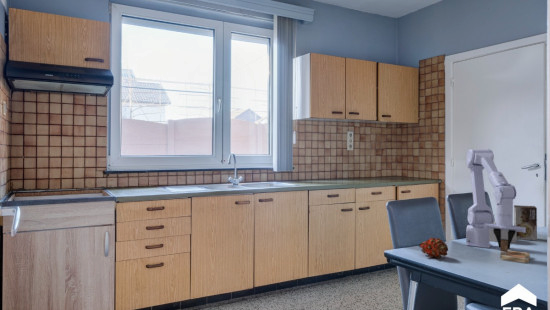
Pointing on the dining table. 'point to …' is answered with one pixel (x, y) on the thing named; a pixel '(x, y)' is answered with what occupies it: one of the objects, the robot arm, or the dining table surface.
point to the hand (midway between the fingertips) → (504, 248)
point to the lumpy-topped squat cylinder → (503, 235)
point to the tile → (515, 255)
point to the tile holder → (516, 259)
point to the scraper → (504, 247)
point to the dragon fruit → (434, 247)
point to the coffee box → (526, 221)
